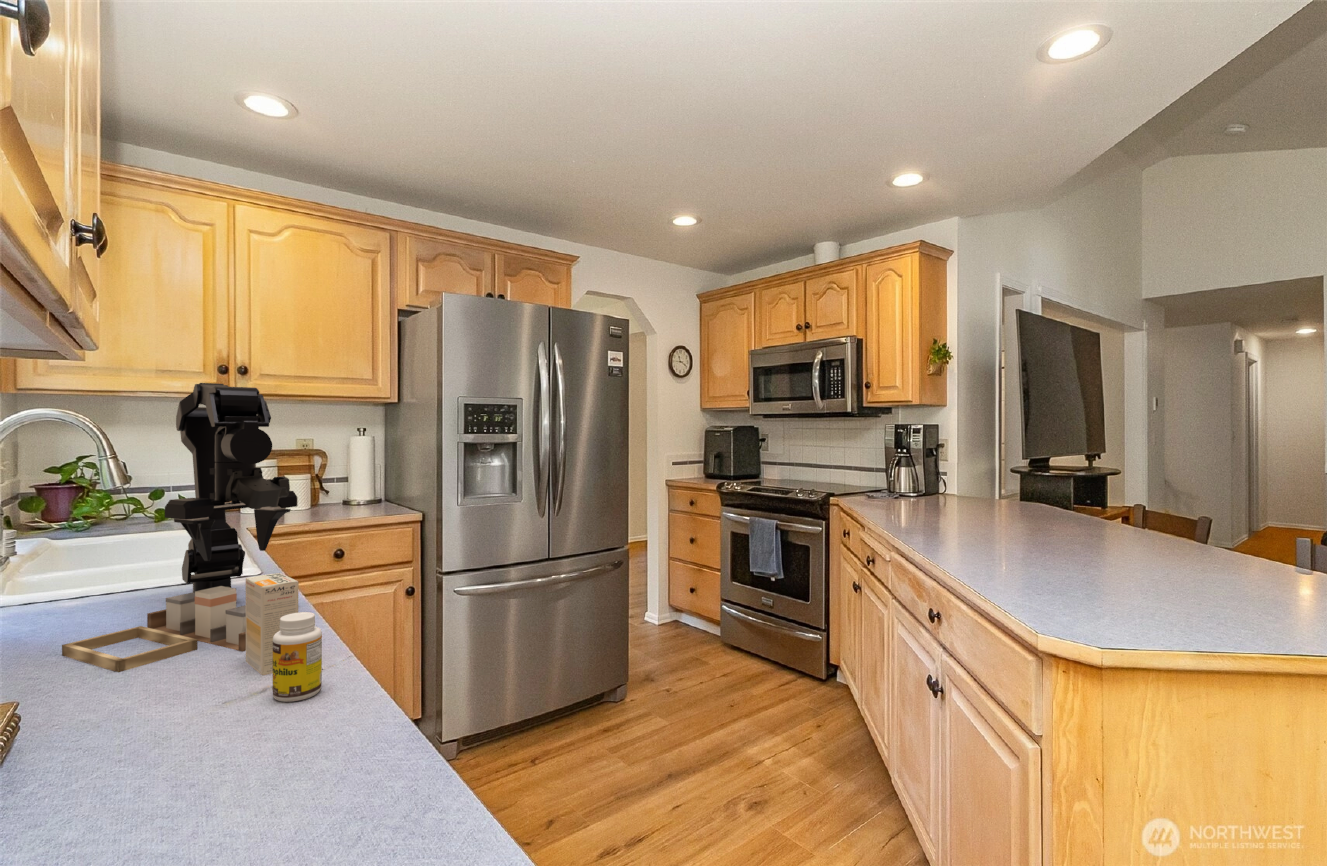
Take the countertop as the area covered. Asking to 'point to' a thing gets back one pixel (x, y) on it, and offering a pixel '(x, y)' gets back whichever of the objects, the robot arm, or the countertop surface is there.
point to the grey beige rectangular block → (179, 610)
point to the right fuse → (235, 623)
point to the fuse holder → (188, 630)
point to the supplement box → (267, 616)
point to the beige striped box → (212, 608)
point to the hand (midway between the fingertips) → (235, 555)
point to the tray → (87, 655)
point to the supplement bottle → (297, 658)
